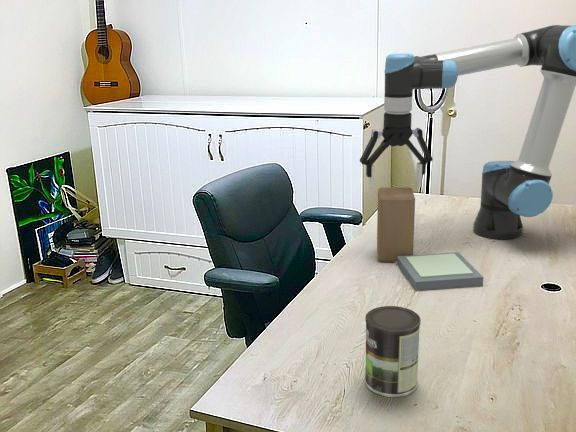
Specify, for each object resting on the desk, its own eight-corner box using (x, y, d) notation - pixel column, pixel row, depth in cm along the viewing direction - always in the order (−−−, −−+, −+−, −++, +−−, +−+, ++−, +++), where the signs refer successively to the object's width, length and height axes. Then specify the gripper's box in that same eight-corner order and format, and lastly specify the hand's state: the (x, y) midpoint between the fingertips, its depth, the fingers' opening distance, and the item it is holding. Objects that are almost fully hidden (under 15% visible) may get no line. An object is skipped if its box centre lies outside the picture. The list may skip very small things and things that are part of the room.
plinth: (457, 260, 181) (458, 250, 180) (482, 285, 164) (483, 275, 163) (396, 264, 180) (396, 254, 179) (415, 290, 163) (415, 280, 162)
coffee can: (370, 399, 118) (371, 332, 114) (360, 370, 128) (360, 307, 123) (424, 395, 119) (427, 328, 114) (410, 366, 128) (412, 303, 124)
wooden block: (410, 250, 190) (412, 186, 183) (413, 263, 180) (415, 196, 174) (376, 250, 191) (377, 186, 184) (378, 263, 181) (379, 196, 175)
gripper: (437, 108, 177) (433, 181, 183) (350, 111, 175) (349, 185, 181) (446, 112, 170) (442, 188, 176) (355, 115, 167) (354, 192, 174)
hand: (395, 187), depth 179 cm, fingers open, 13 cm apart
